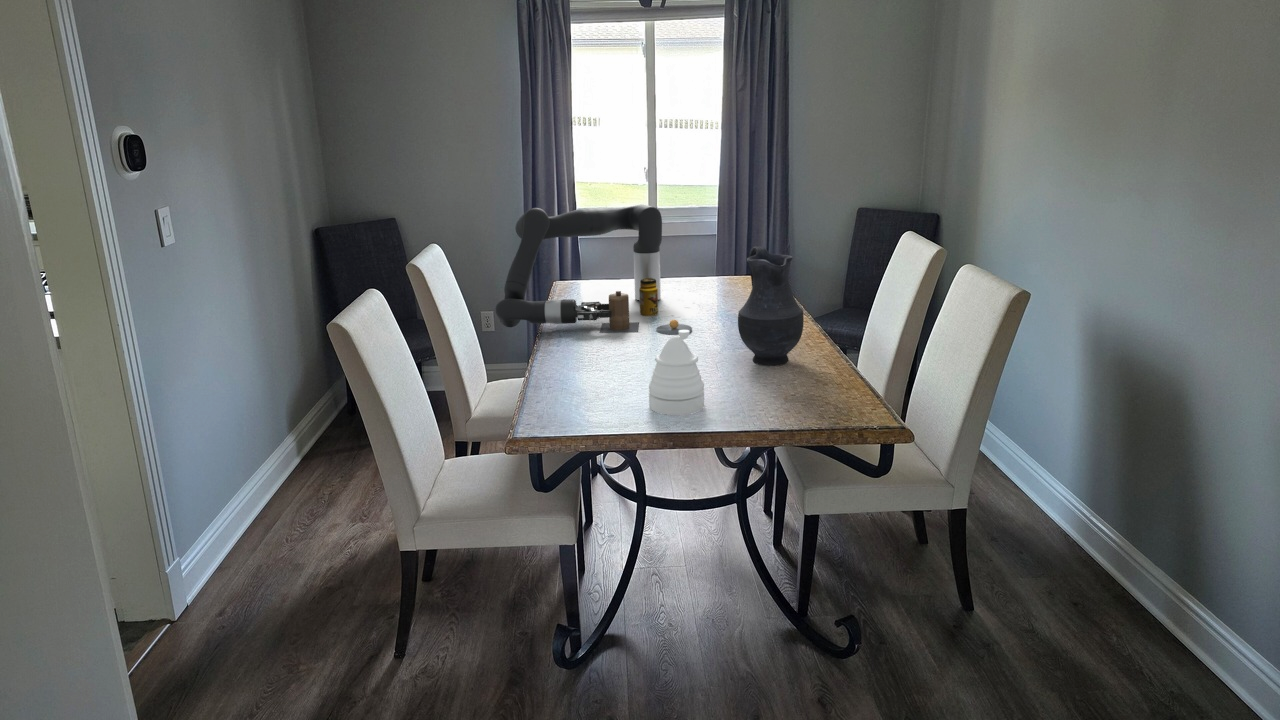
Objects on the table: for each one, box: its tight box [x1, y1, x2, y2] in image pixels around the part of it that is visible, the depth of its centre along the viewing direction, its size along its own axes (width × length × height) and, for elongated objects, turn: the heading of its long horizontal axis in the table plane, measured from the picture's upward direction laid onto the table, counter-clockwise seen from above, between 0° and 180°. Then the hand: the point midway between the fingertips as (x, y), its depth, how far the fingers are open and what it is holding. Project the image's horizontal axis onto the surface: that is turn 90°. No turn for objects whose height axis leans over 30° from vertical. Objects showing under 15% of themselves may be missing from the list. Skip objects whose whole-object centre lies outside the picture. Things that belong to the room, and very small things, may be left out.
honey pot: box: [648, 330, 705, 416], centre depth 195 cm, size 13×13×18 cm
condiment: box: [639, 278, 659, 317], centre depth 279 cm, size 7×8×12 cm
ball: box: [668, 319, 680, 329], centre depth 260 cm, size 3×3×3 cm
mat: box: [598, 321, 640, 334], centre depth 265 cm, size 12×12×1 cm
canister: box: [608, 290, 630, 330], centre depth 263 cm, size 6×6×12 cm
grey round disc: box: [655, 323, 693, 336], centre depth 260 cm, size 11×11×1 cm
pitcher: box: [737, 245, 805, 367], centre depth 225 cm, size 17×21×30 cm
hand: (612, 310), depth 263 cm, fingers open, 8 cm apart
